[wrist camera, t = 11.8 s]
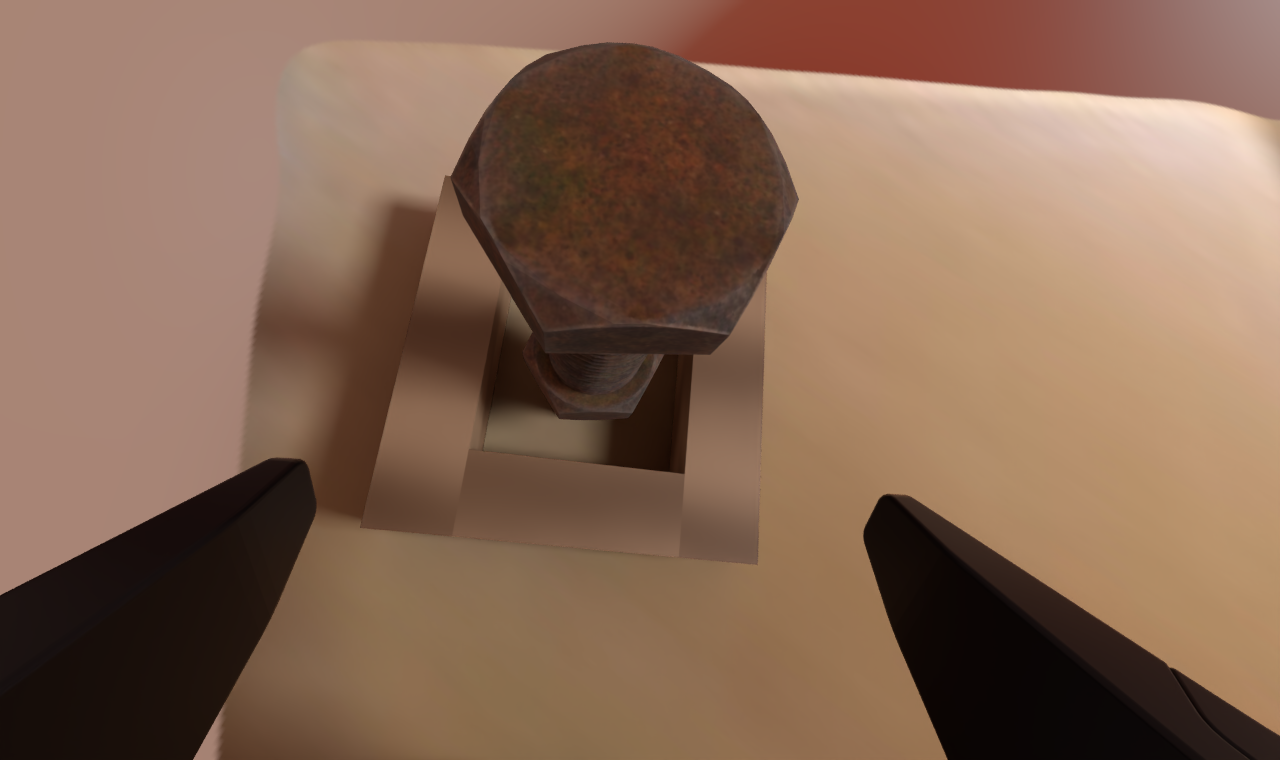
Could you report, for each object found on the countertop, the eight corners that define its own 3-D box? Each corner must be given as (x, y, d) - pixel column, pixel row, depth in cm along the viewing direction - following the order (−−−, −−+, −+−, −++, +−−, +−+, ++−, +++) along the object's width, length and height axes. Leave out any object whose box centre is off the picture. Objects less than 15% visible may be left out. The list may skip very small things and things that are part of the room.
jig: (731, 558, 21) (757, 564, 18) (389, 525, 20) (360, 527, 17) (744, 265, 25) (767, 233, 22) (459, 216, 23) (445, 175, 21)
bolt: (519, 442, 21) (433, 321, 7) (521, 329, 22) (452, 22, 8) (653, 439, 22) (829, 328, 8) (649, 331, 23) (794, 59, 9)
